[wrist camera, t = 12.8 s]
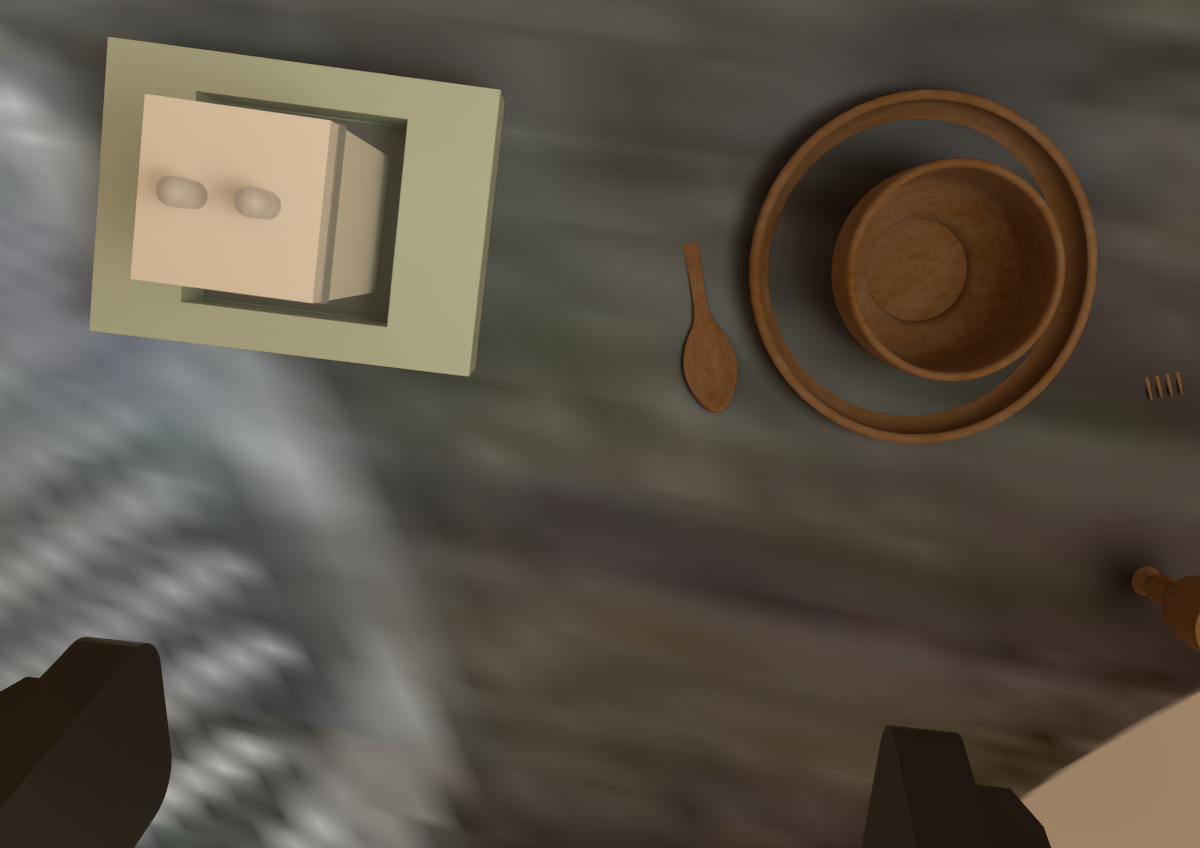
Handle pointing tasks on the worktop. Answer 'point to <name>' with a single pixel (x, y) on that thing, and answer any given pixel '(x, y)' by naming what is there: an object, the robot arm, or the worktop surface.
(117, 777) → the robot arm
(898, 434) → the place setting
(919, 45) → the worktop surface
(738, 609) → the worktop surface
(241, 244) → the block
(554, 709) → the worktop surface
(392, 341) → the green rectangular tray
